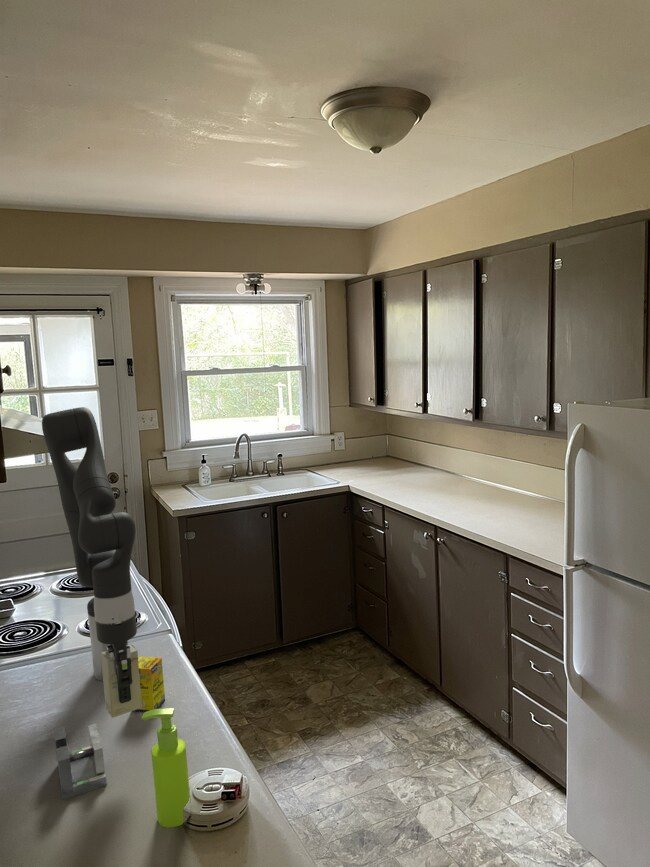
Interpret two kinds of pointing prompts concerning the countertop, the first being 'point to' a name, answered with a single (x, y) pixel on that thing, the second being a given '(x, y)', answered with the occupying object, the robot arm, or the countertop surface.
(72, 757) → the grey t-shaped piece
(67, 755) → the grey bracket with rod
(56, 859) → the countertop surface
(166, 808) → the soap dispenser
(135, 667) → the skincare box
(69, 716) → the countertop surface
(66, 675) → the countertop surface
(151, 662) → the supplement box
